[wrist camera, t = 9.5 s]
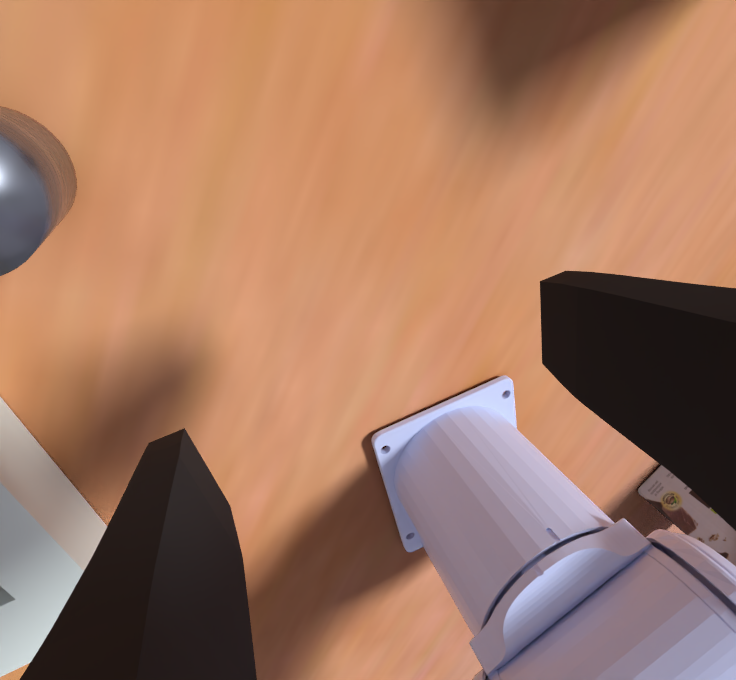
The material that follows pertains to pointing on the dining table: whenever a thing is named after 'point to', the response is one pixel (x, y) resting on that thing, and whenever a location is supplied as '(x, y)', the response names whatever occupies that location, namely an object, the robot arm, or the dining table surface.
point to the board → (37, 542)
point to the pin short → (30, 186)
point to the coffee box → (689, 512)
